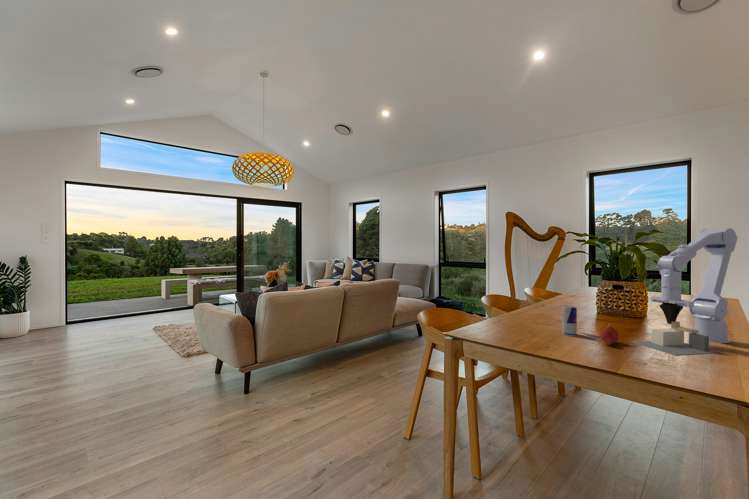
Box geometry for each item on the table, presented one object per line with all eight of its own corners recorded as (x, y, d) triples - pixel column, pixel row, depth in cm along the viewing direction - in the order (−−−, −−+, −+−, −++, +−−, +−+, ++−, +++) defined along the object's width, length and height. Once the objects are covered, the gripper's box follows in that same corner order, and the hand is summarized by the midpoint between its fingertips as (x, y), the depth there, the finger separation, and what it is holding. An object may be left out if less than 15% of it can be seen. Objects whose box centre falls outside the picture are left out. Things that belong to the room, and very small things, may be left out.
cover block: (671, 341, 133) (671, 328, 133) (684, 344, 128) (684, 331, 128) (651, 342, 131) (651, 329, 131) (663, 345, 127) (663, 332, 127)
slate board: (667, 341, 137) (667, 325, 137) (720, 355, 119) (720, 337, 119) (627, 343, 134) (627, 327, 134) (675, 357, 116) (675, 339, 116)
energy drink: (578, 337, 143) (578, 307, 143) (564, 336, 144) (564, 307, 144) (573, 333, 148) (574, 305, 148) (560, 333, 149) (560, 305, 149)
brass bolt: (675, 328, 131) (675, 321, 131) (699, 333, 123) (699, 325, 123) (671, 328, 131) (671, 321, 131) (694, 333, 123) (694, 326, 123)
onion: (596, 343, 134) (596, 322, 134) (610, 342, 134) (610, 322, 134) (607, 347, 128) (608, 326, 128) (622, 347, 129) (622, 325, 128)
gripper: (644, 285, 138) (644, 320, 138) (682, 290, 124) (682, 328, 124) (659, 285, 139) (659, 319, 140) (698, 289, 125) (698, 327, 125)
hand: (671, 323), depth 132 cm, fingers closed
